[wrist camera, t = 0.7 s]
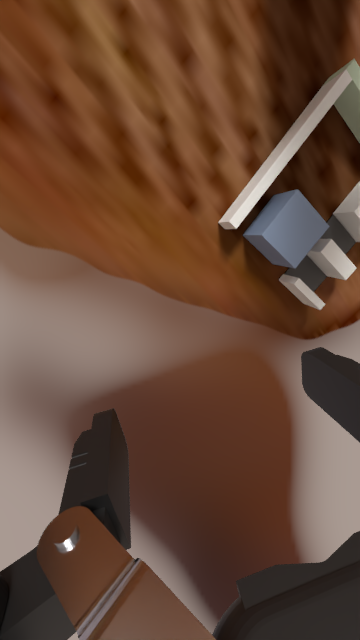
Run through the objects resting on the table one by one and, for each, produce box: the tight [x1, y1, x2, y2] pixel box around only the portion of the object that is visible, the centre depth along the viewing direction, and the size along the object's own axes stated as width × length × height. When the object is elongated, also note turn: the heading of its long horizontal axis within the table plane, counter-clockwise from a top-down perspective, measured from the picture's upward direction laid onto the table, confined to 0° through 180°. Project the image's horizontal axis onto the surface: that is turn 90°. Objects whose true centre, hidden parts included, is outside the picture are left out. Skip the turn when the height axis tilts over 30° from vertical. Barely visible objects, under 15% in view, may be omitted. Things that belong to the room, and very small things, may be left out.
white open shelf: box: [218, 59, 360, 310], centre depth 33 cm, size 20×18×4 cm
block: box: [243, 189, 330, 268], centre depth 32 cm, size 6×6×5 cm
